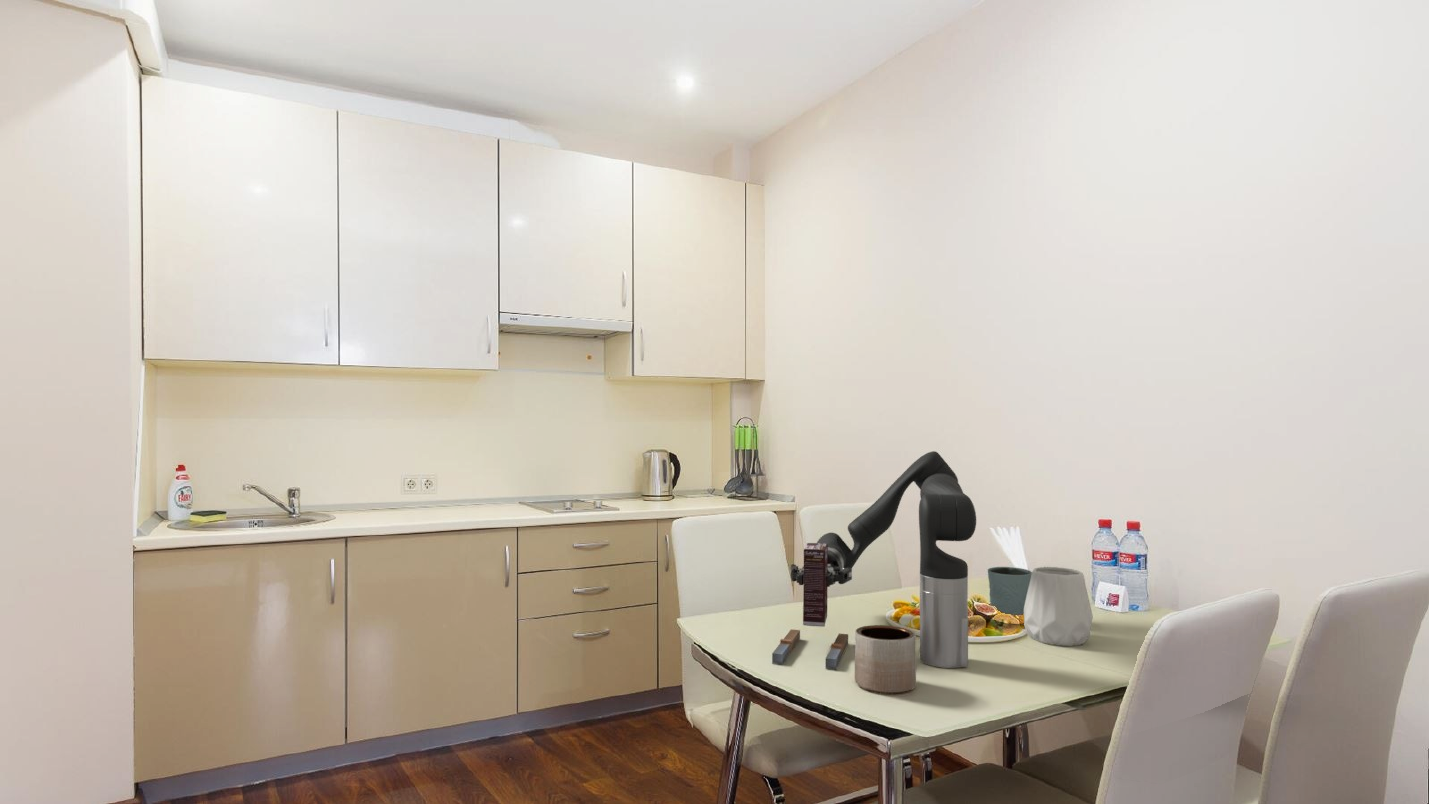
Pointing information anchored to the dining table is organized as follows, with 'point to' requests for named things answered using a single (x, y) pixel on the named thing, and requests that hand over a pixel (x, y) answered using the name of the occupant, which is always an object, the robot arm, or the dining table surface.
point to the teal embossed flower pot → (1009, 589)
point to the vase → (1057, 607)
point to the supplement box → (815, 584)
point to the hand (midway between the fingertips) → (813, 581)
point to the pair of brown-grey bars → (792, 640)
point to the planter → (885, 659)
